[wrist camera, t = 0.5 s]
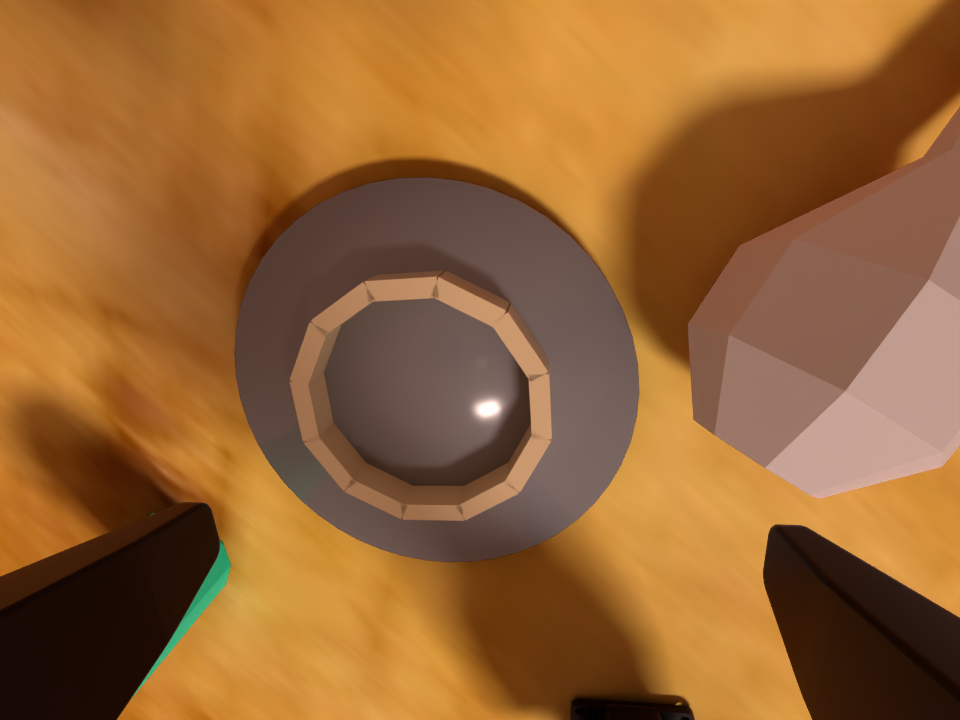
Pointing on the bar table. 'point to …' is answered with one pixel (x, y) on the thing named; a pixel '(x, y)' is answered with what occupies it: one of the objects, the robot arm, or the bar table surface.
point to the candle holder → (437, 369)
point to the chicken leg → (842, 334)
